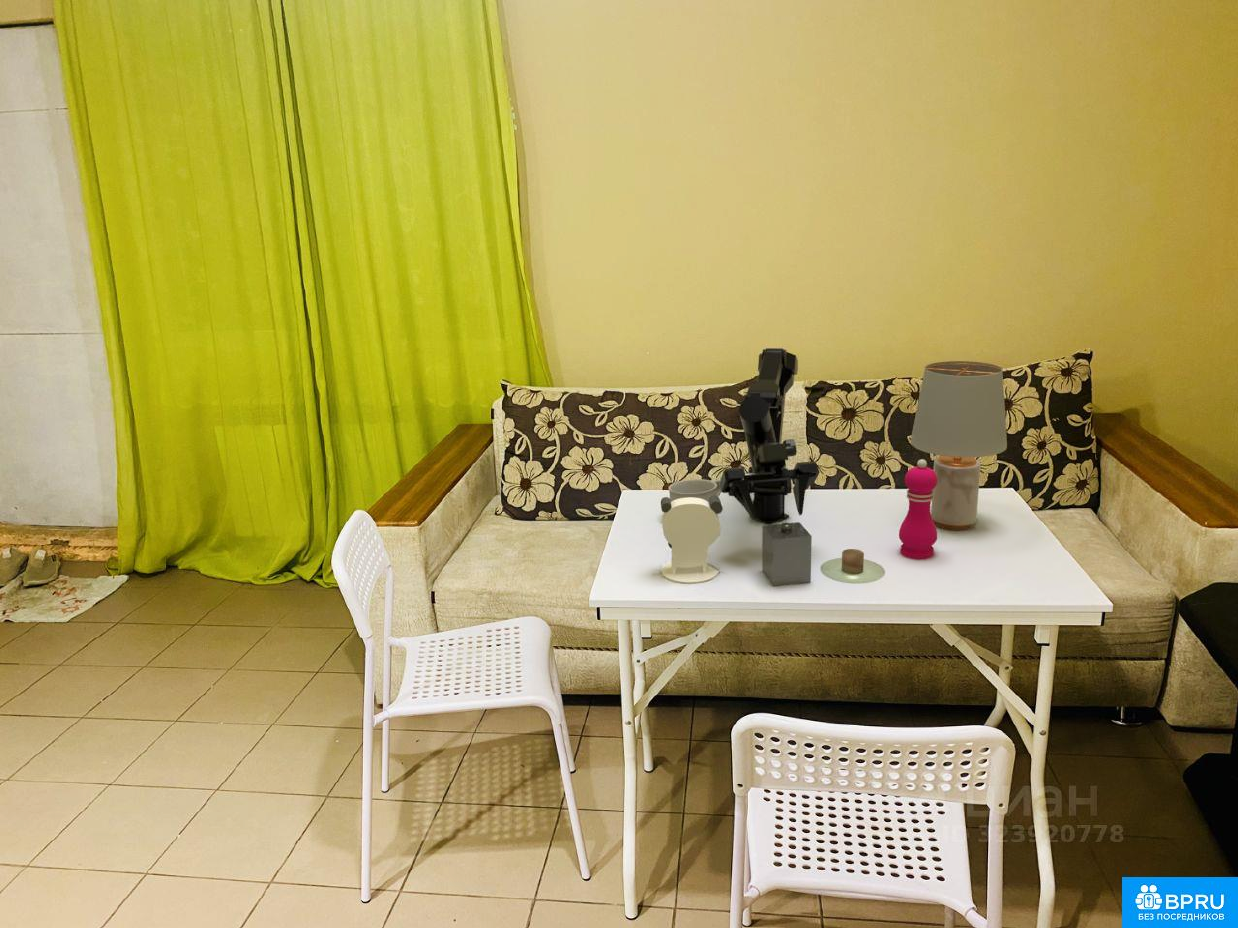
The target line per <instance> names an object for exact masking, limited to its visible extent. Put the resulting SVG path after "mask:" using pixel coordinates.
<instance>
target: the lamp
mask: <svg viewBox="0 0 1238 928" xmlns="http://www.w3.org/2000/svg"><path fill="white" fill-rule="evenodd" d="M1003 375H1004V373H1003V368H1002V367H1001V366H999V365H997V364H993V363H992V364H991V363H987V362H980V361H969V360H967V361H965V360H963V361H962V360H956V361H955V360H951V361H941V362H940V361H939V362H933V363H929V364H927V365H925V366H924V370H923V377H922V381H921V382H922V383H921V385H920V391H919V396H918V400H917V406H916V412H915V417H914V422H913V427H912V432H911V437H910V445H911V446H912V447H913V448H915V449H916V450H919V451H922V452H924V453H927V454H932V455H935V456H938V457H935V459H934V461H933V471H934V472H935V473H936V475H937V481H938V482H937V485H936V487H935V488H934V489H933V490H932V491H933V492H934V495H933V497H934V499H933V500H931V504H930V513H931V517H932V520H933V522H934V524H935V526H936V527H939V528H942V529H945V530H950V531H951V530H953V531H962V530H968V529H970V528H972V527H973V524H974V523H976V521H977V514H978V503H979V491H980V477H981V462H980V461H979V460H977V459H976V458H985V457H990V456H995V455H998V454H1001V453H1003V452H1005V451H1006V450H1007V447H1008V440H1007V438H1008V437H1007V436H1008V435H1007V422H1006V421H1007V420H1006V406H1005V404H1006V403H1005V395H1004V393H1005V391H1004V379H1003V377H1004V376H1003Z"/></svg>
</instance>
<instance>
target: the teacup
mask: <svg viewBox="0 0 1238 928" xmlns="http://www.w3.org/2000/svg"><path fill="white" fill-rule="evenodd" d="M720 480H721V479H717V478H713V479H711V480H709V479H702V478H701V479H700V478H691V479H685V480H680V481H676V482H673V483H671V484H670V485H669V486H668V491H669V498H670V501H671V502H672V501H674V500H676V499H680V498H687V497H694V498H701V499H704V500H706V501H707V502H709V498H710V497H711V496H713V495H715V496H717V497H719V496H720V495H721V493H722V492H721V487H720Z"/></svg>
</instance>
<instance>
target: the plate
mask: <svg viewBox="0 0 1238 928" xmlns="http://www.w3.org/2000/svg"><path fill="white" fill-rule="evenodd" d="M819 569H820V573H821V574H823V576H825V577H826V578H828V579H831V580H832V581H835V582H840V583H845V584H858V585H859V584H869V583H874V582H876V581H879V580H881V579H882V578H884V576H885V574H886V571H885V568H884V567H883V566H882V565H880V564H879V563H877V562H875V561H872V560H870V559H866V558H864V564H863V572H862V573H860V574H847V573H845V572H843V571H842V557H839V558H838V557H837V558H833V559H832V558H831V559H830V560H826V561H825V562H823V563H821V565H820V568H819Z"/></svg>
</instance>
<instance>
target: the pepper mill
mask: <svg viewBox="0 0 1238 928" xmlns="http://www.w3.org/2000/svg"><path fill="white" fill-rule="evenodd" d="M916 463H917V464H916V465H917V466H913V467H911V468H910V469H909V470H908V471H906V474H905V477H904V483H905V486H906V487H907V490H906V493H907V495H906V499H908V510H907V514H906V516H905V518H904V520H903V521H902V523H901V524H900V527H899V530H898V531H899V532H898V538H899V540H900V542H901V543H902V544H901V545H900V554H901V555H902V556H904V557H905V558H908V559H911V560H912V559H913V560H928V559H931V558H933V557H934V554H935V553H934V552H935V547H934V546H933V545H934V544H935V543H936V542H937V540H938V530H937V525H936V524H935V523H934V520H933V519H932V517H931V505H932V500H933V499H934V497H933V495H934V492H933V491H932V490H933V489H934V488H935V487H936V485H937V482H938V481H937V475H936V473H935V472H934V469H932V468H931V467H928V463H927V461H926V460H925V459H918V461H917V462H916Z"/></svg>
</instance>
